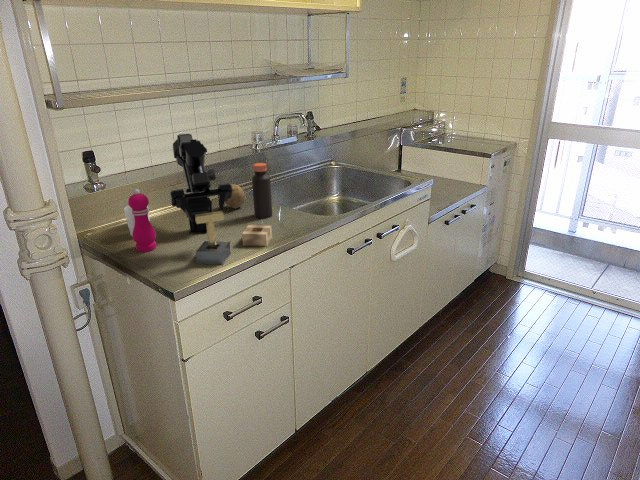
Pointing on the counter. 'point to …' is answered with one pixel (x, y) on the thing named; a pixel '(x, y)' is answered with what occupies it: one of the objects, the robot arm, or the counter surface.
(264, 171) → the bottle
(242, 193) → the natural sponge
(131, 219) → the white cup
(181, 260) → the counter surface
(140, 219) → the pepper mill
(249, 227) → the tan square ring block
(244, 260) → the counter surface
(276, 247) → the counter surface
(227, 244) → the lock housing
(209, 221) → the T-key
